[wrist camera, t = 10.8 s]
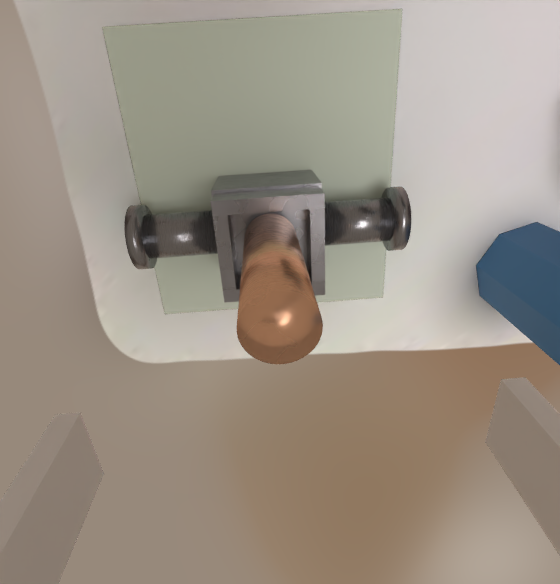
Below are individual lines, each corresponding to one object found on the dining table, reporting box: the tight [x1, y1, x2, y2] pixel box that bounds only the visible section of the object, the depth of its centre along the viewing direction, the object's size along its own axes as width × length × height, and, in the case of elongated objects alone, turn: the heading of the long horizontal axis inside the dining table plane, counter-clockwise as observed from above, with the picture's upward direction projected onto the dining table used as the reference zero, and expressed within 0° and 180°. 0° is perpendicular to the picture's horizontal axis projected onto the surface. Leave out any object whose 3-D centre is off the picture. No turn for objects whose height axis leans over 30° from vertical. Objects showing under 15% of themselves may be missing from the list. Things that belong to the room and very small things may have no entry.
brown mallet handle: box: [237, 214, 323, 364], centre depth 24 cm, size 4×4×13 cm
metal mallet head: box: [125, 170, 411, 303], centre depth 32 cm, size 11×22×8 cm, turn 93°
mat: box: [102, 9, 402, 314], centre depth 34 cm, size 24×22×1 cm
